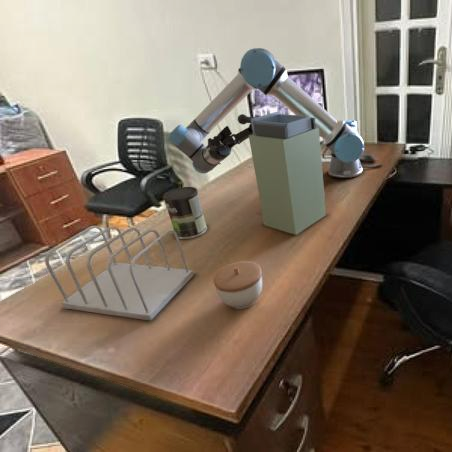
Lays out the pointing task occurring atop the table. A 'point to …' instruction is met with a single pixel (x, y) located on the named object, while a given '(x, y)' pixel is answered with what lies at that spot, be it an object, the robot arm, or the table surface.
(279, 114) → the grey drawer
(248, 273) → the trinket box
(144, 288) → the file sorter
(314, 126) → the stand
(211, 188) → the table surface
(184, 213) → the coffee can
